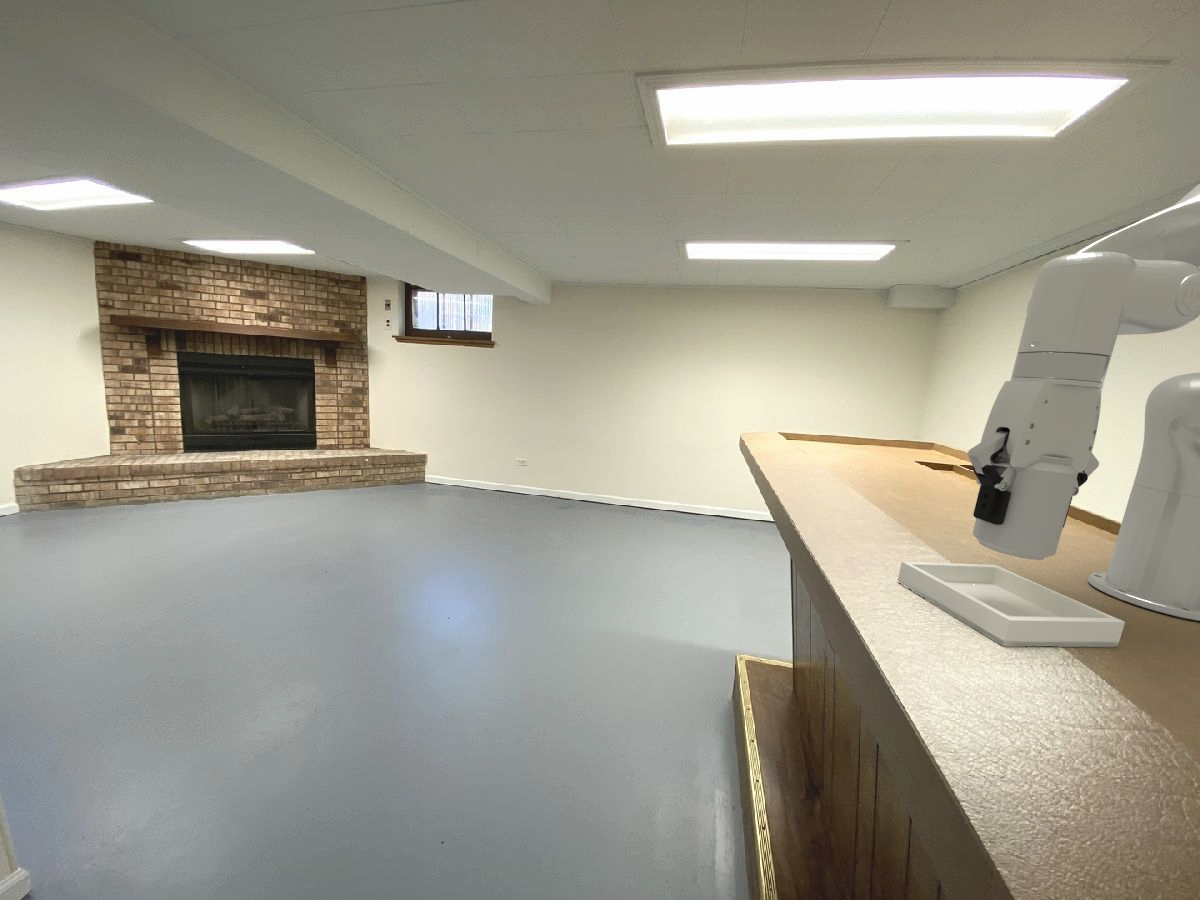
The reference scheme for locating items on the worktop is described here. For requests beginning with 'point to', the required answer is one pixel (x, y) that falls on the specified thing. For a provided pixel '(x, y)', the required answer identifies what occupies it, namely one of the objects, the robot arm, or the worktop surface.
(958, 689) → the worktop surface
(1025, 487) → the can
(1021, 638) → the tray
